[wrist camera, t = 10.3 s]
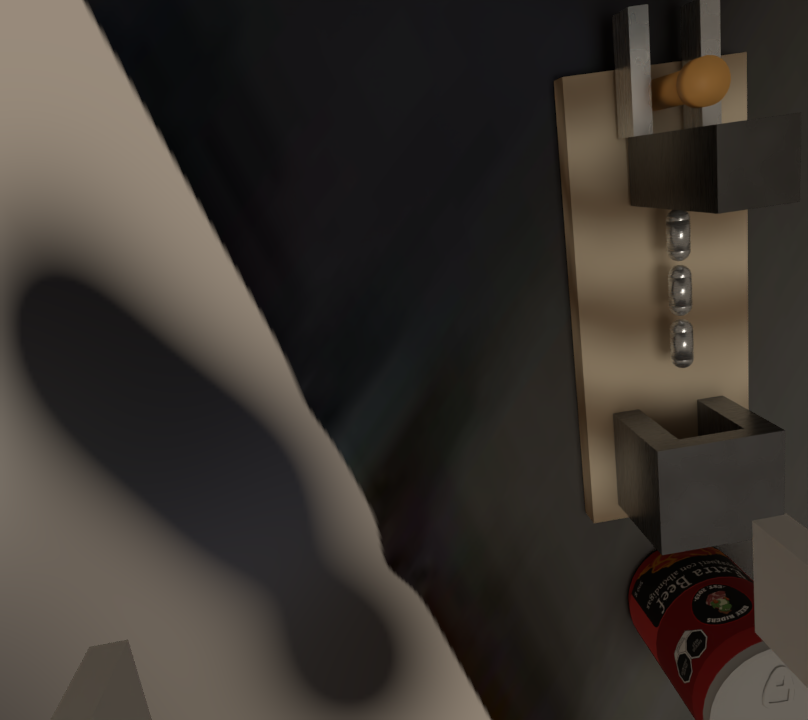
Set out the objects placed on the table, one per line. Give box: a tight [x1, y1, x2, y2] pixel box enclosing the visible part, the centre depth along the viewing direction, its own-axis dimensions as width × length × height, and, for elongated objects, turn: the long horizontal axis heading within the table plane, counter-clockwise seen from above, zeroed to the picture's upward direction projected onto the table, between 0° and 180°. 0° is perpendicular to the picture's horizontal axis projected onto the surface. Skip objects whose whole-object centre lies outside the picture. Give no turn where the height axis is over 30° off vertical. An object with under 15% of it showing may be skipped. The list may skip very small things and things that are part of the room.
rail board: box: [554, 52, 749, 523], centre depth 40 cm, size 26×10×2 cm, turn 8°
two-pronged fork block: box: [612, 0, 801, 368], centre depth 33 cm, size 19×5×9 cm, turn 8°
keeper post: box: [651, 55, 731, 111], centre depth 34 cm, size 2×2×5 cm
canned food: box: [628, 547, 808, 720], centre depth 41 cm, size 8×8×11 cm
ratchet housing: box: [613, 396, 785, 555], centre depth 39 cm, size 6×7×6 cm
